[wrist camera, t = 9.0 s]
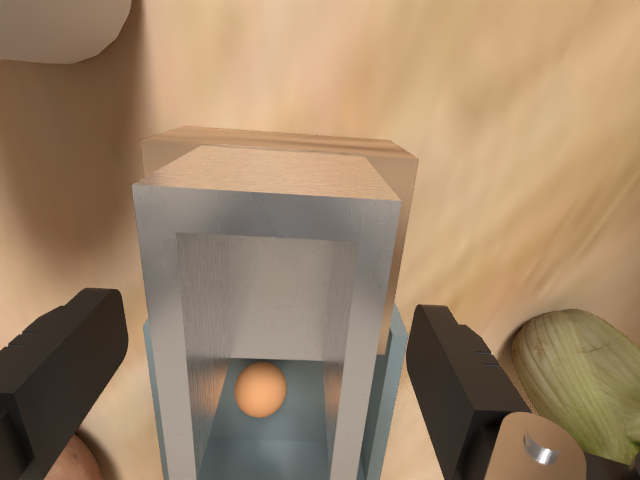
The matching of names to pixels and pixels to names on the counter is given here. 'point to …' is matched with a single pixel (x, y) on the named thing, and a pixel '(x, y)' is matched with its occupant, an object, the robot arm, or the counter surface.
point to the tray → (291, 421)
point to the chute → (264, 282)
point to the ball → (260, 389)
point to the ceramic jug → (75, 463)
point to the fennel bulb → (583, 380)
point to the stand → (380, 153)
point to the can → (59, 29)
